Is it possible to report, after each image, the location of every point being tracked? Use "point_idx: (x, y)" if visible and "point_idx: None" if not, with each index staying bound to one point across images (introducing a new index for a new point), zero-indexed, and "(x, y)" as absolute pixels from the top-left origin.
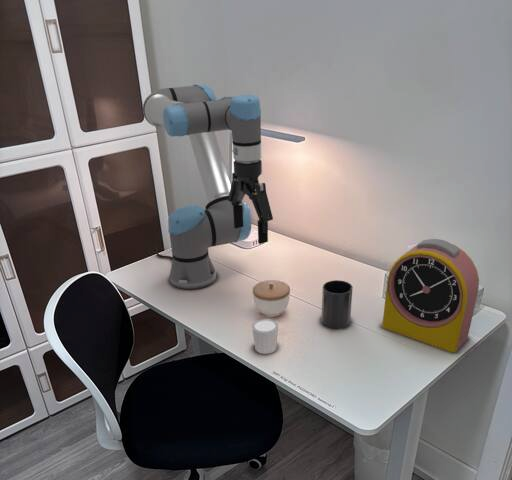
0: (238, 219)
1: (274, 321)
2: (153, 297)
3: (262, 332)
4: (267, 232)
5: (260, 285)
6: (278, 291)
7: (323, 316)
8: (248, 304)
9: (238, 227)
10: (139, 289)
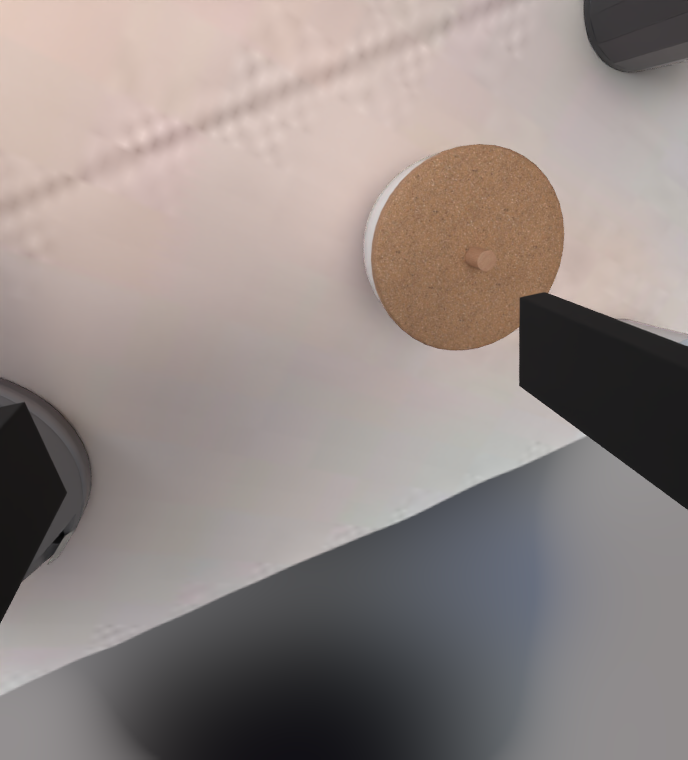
0: (6, 519)
1: (682, 343)
2: (111, 620)
3: None
4: (614, 322)
5: (421, 299)
6: (527, 237)
7: (660, 64)
8: (319, 309)
9: (50, 463)
10: (20, 661)
